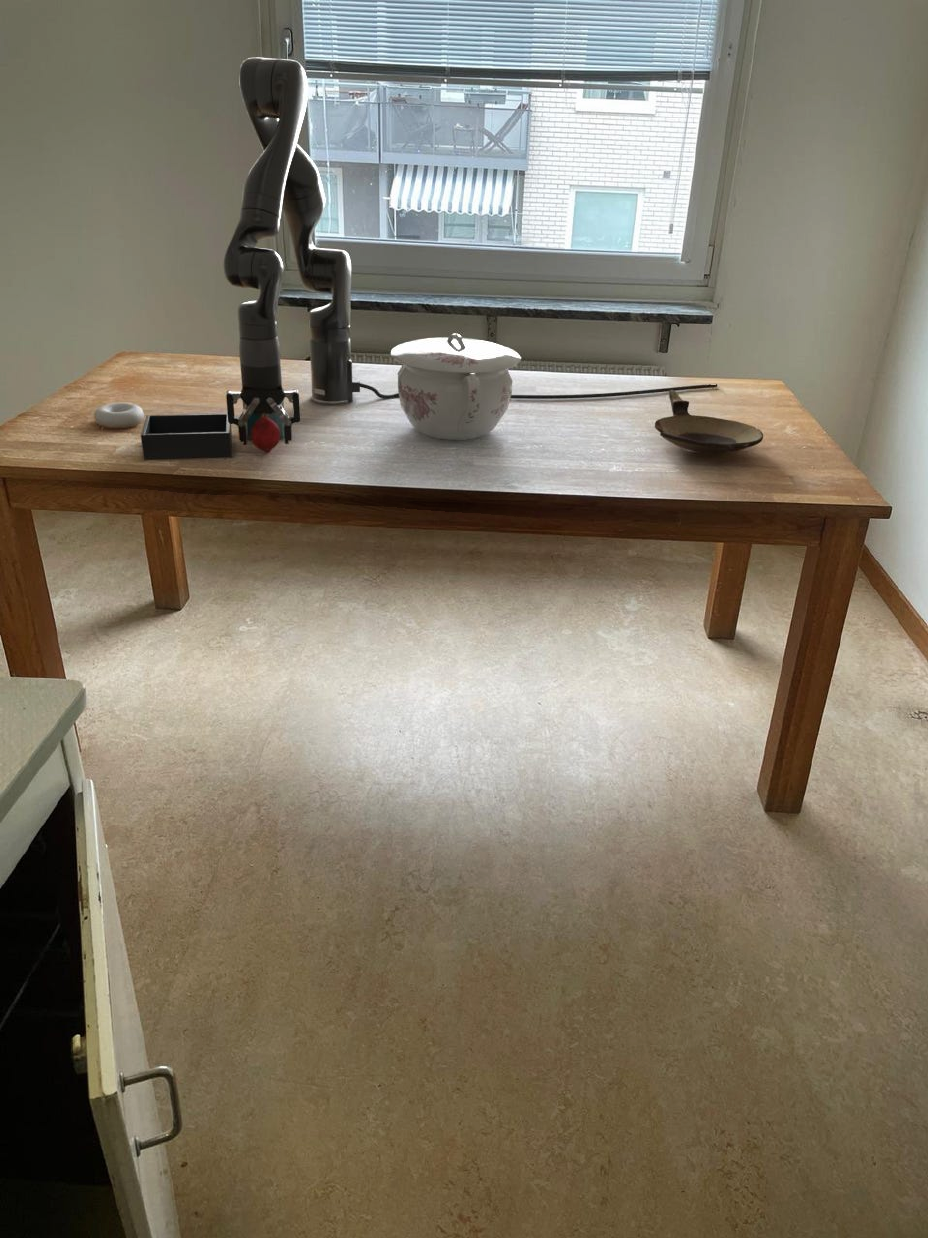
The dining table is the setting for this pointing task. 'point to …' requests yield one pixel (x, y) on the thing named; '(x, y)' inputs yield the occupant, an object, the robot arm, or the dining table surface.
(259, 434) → the onion
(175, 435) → the black open box
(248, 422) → the cup
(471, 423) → the chamber pot
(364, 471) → the dining table surface
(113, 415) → the donut
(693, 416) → the frying pan
